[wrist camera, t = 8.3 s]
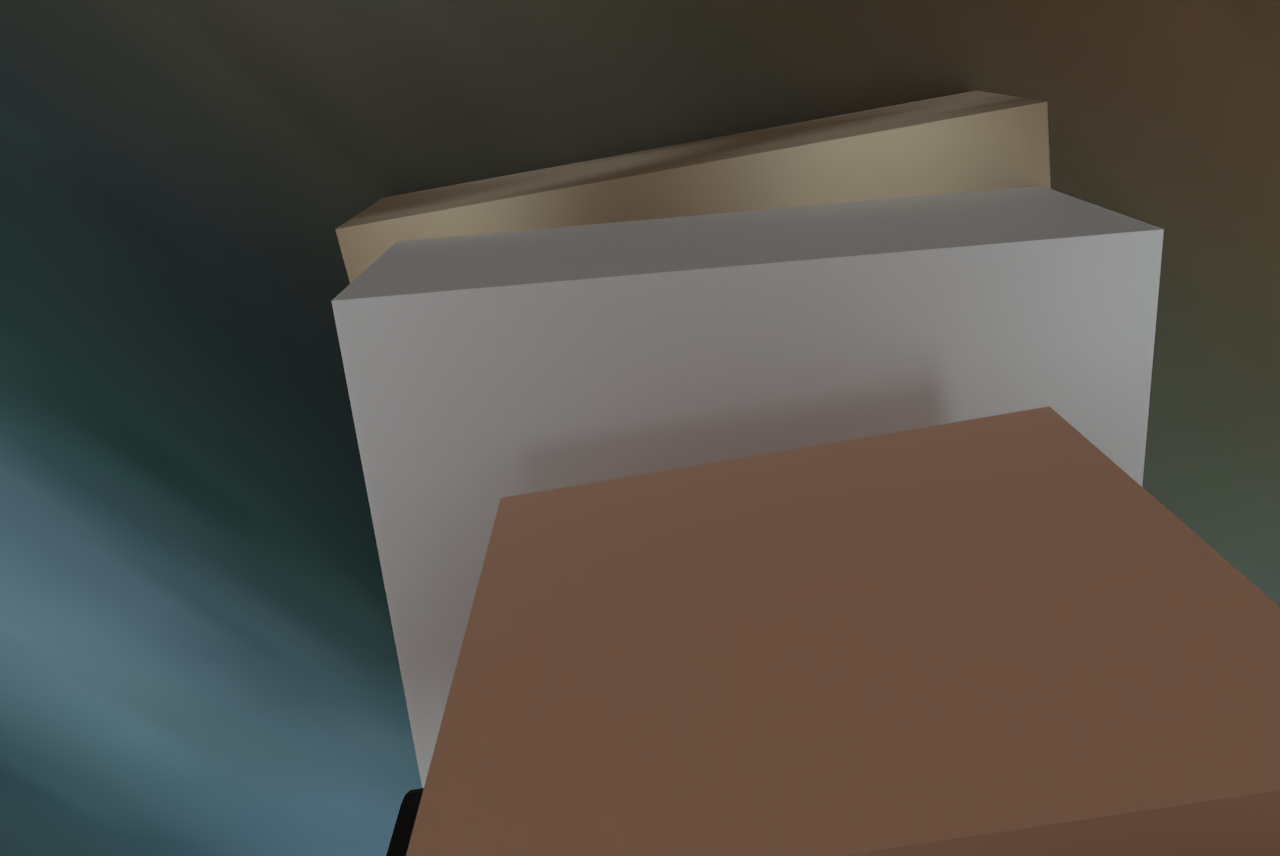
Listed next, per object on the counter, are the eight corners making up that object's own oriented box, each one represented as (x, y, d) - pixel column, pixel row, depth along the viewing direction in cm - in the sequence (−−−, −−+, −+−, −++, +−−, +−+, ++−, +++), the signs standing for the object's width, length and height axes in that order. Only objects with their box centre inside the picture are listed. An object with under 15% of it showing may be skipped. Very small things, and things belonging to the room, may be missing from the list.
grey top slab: (1041, 185, 17) (1164, 229, 13) (1016, 729, 20) (1108, 890, 16) (397, 241, 17) (331, 300, 13) (482, 772, 20) (450, 940, 16)
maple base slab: (967, 89, 20) (1047, 101, 16) (1001, 604, 24) (1072, 712, 20) (388, 194, 20) (335, 229, 17) (511, 682, 24) (490, 802, 20)
